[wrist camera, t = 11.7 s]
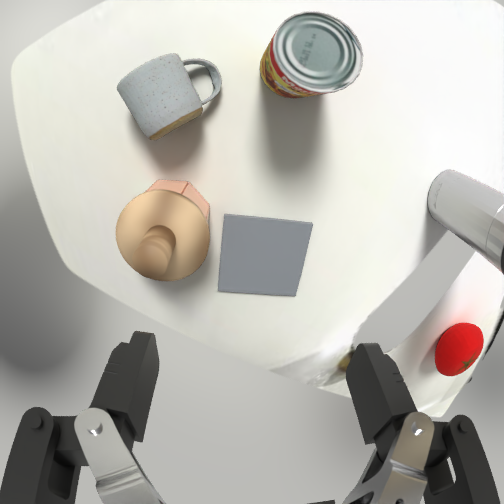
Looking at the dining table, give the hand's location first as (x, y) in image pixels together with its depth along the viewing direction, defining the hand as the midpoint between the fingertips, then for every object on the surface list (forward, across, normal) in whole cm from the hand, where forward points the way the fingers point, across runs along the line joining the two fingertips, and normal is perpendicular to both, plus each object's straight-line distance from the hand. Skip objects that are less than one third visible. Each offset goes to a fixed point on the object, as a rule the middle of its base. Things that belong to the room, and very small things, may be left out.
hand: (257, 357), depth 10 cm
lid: (+22, +9, +6) cm, 24 cm away
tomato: (+30, -53, +30) cm, 68 cm away
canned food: (+28, -4, -15) cm, 32 cm away
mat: (+28, -3, +11) cm, 30 cm away
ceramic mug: (+28, +10, -11) cm, 32 cm away
